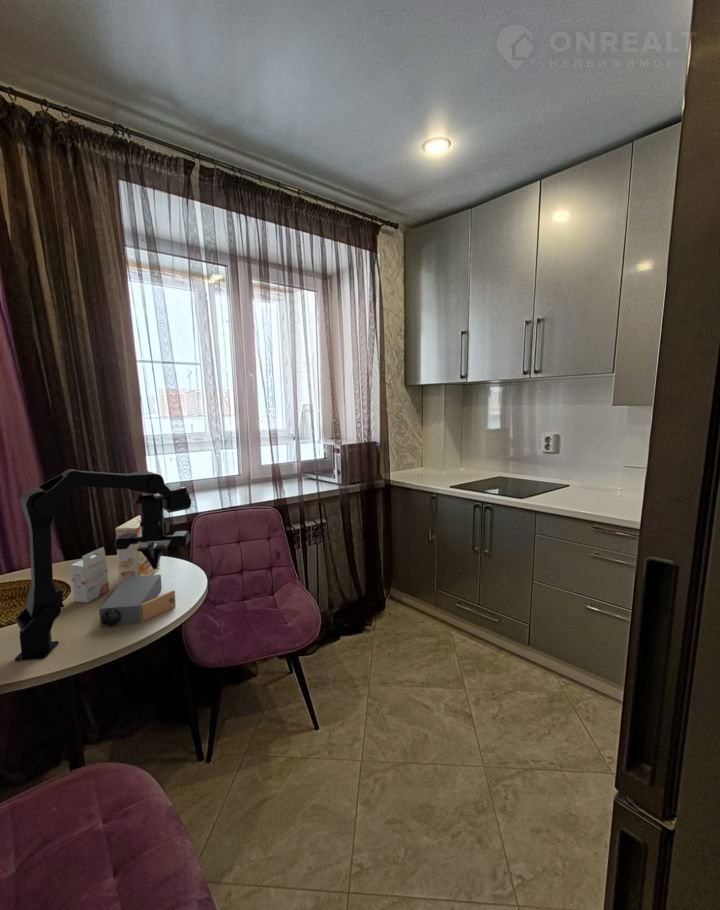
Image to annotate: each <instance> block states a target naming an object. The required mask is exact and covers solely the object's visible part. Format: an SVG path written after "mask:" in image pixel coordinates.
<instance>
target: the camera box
mask: <svg viewBox="0 0 720 910" xmlns="http://www.w3.org/2000/svg"><path fill="white" fill-rule="evenodd" d="M161 589H162V575H161V574H152V575H149V576H134V577H126V578H125V580H124V581H123V582H122V583H121V584H120V585H118V586H117V588H115V590H114V591H112V594H111V595H109V597H108V598H107V599H106V600H105V601H104V602H103V603H102V605H101V606H100V607H99V609H98V611H99V623H100V626H101V627H114V626H120V625H129V624H130V625H131V624H141V623H142V622H143V621H142V616H141V604H143V603H145V602H147V601H150V600H152V599H154V598H156V597H159V595H158V594H160V593H161V591H162V590H163V589H162V590H161Z"/></svg>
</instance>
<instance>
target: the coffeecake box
mask: <svg viewBox="0 0 720 910" xmlns="http://www.w3.org/2000/svg"><path fill="white" fill-rule="evenodd" d="M140 522H141V515H137V516H135V517H134V518H132V519H130V520H128V521H126V522H124V523H123V524H121V525H119V526H117V527H115V528H114V529H115V540H116V539H117V538H119V537H120V536H121V535H122V534H130V533H136V535H137V537H141V536H142V528H141V526H140ZM156 546H157V544H156V543H154V548H155V547H156ZM137 549H138V544H130V546H129V547H128V548H127V549H118V550H116V555H117V571H118V583H119V585H120V584H121V583H122V582H123V581H124V580H125V578H126V577H134V576H149V575H154V573H155V572H157V570H158V569H160V568H161V566H160V565H161V563H160V561H159V564H158V567H157V569H153V567H152V566H151V564H150V563H149V561H148V559H147V558H146V557H145V556H144V554H143V553H142V552H141V551H138V550H137ZM159 567H160V568H159ZM119 585H118V586H119Z"/></svg>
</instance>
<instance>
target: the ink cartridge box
mask: <svg viewBox="0 0 720 910" xmlns="http://www.w3.org/2000/svg"><path fill="white" fill-rule="evenodd" d="M105 551H106V550H105V548H104V546H102V547H100V548H98V549H95V550H93V551H91V552H89V553H85V554H84V555H82V556H81V560H79V561H76V562H74V563H72V564H70V572H71V581H72V591H73V597H74V602H78V603H79V602H80V603H88V604H89V602H91V601H94V600H95V599H97V598H98V597H100V596H101V595H103V594H105V593H106V592H109V591H110V587H109V586H110V585H109V584H110V583H109V575H108V565H107V564H108V563H107V556H106V552H105Z"/></svg>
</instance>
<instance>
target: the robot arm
mask: <svg viewBox="0 0 720 910" xmlns="http://www.w3.org/2000/svg"><path fill="white" fill-rule="evenodd" d="M78 487H86V488H87V487H88V488H105V489H106V488H107V489H110V488H111V489H126V490H132V491H136V492H140V493H136V495H135V496H134V497H133V498H132V499H131V500H130V502H131V503H134V504H136V505H139V510H140V516H141V522H140V526H141V528H142V536H141V537H137V535H136V533H130V534H122V535H121V536H120V537H119V538H117V539H116V538H115V540H114V549H115V550H116V551H117V550H118V549H127V548H128V547H129V546H130V544H138V549H137V550H138V551H141V552H142V553H143V554H144V556H145V557H146V558H147V559H148V561H149V563H150V564H151V566H152V567H153V569H157V567H158V564H159V561H160V560H161V557H162V554H163V552H164V550H166V549H167V548H168V546H169V545H170V544H171V546H173V547H175V548H176V547H185V546H187V545H188V544H189V542H190V540H191V533H190V532H189V531H188V530H180V531H179V530H178V531H175V532H174V533H173V534H170V535H167V534H168V533H170V521H169V520H166V518H165V516H164V511H167V513H170V514H171V513H175V512H180V511H185V510H189V509H190V508H191V506H192V499H191V496H190V494H189V492H188V488H187V487H185V486H180V487H178V488H177V487H176V488H172V489H169V487H168V486H167V485H166V484H165V479H164V478H163V476H162V475H160V474H158V473H155V472H152V471H149V470H144V471H143V470H142V471H134V472H128V473H117V472H104V471H103V472H102V471H91V470H89V471H88V470H77V469H74V468H71V469H66V470H64V471H63V472H61V473H60V474H58V475H57V476H55V477H53V478H51V479H49V480H47V481H46V482H44V483H42V484H40V485H39V486H38V487H33V488H30V489H27V490H26V491H24V493H22V494H21V497H20V504H21V508H22V511H23V515H24V517H25V520H26V523H27V526H28V532H29V533H28V534H29V535H28V537H29V554H30V557H29V558H30V576H31V578H30V579H31V584H30V587H29V590H28V593H27V597H26V601H25V603H26V604H25V607H24V609H23V610H22V611H21V612H20V613H19V614H18V615H17V616H16V618H15V619H14V620H15V622H16V624H17V626H18V628H19V630H20V631H19V643H20V653H19V654H17V655H16V657H15V658H14V662H18V661H28V660H29V661H30V660H41V659H45V658H47V657H48V655H50V653H52V651H53V650H54V649H55V648H56V647H57V646H58V645H59V643H60V642H59V640H56V641H55V640H53V639H52V629H53V625H54V623H55V621H56V619H57V618H58V617H59V616H60V615H61V611H62V608H65V605H64V604H63V597H64V590H62V587H60V586H59V584H58V583H55V584H54V578H53V577H54V576H53V575H54V573H53V553H52V551H53V550H52V525H53V521H54V519H55V517H56V512H57V505H58V504H59V503H61V502H62V501H63V500H65V499H66V498H67V497H68V496H69V495H70V494H71V493H72V492H73V491H74V490H75V489H76V488H77V489H78ZM141 493H143V494H145V495H142V494H141ZM158 494H159V495H158ZM156 495H157V496H156ZM154 543H156V544H157V546H156V547H155V548H154ZM157 570H158V569H157Z"/></svg>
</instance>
